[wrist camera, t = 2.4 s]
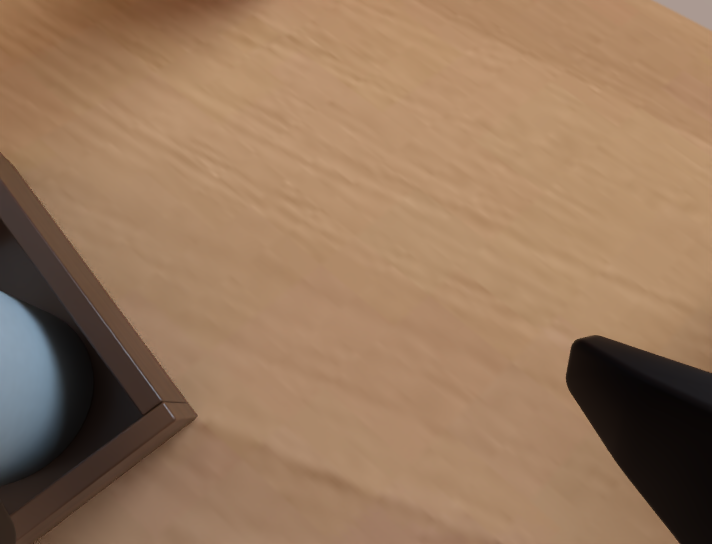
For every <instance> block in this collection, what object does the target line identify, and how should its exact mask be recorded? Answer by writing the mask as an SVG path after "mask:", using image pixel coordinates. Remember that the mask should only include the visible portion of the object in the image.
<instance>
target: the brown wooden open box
mask: <svg viewBox="0 0 712 544" xmlns="http://www.w3.org/2000/svg"><path fill="white" fill-rule="evenodd" d="M0 291H2V292H4V293H6V294H8V295H11V296H13V297H15V298H17V299H19V300H22V301H24V302H26V303H28V304H31V305H33V306H35V307H37V308H39V309H42V310H44V311H46V312H48V313H50V314H52V315H54V316H56V317H58V318H59V319H61V320H62V321H63V322H65V323H66V324H67V325H68V326H69V327H70V328H71V329H72V330H74V331H75V333H76V334H77V335H78V337H79V338H80V339H81V340H82V342H83V344H84V346H85V348H86V350H87V352H88V355H89V357H90V360H91V365H92V370H93V382H94V383H93V395H92V399H91V404H90V408H89V410H88V413H87V416H86V418H85V420H84V422H83V424H82V426H81V428H80V430H79V432H78V433H77V435H76V436H75V438H74V439H73V440H72V442H71V443H70V444H69V445H68V446H67V448H66V449H65V450H64V451H63V452H62V453H61V454H60V455H59V456H58V457H56V458H55V459H54V460H53V461H52V462H50V463H49V464H48V465H46V466H45V467H44V468H42V469H40V470H39V471H37V472H35V473H34V474H32V475H30V476H28V477H25V478H23V479H21V480H19V481H16V482H13V483H9V484H6V485H3V486H0V500H1V502H2V503H3V505H4V507H5V509H6V511H7V512H8V514H9V516H10V518H11V519H12V521H13V523H14V526H15V529H16V544H33V543H34V542H35V541H37V540H38V539H39V538H41V537H42V536H43V535H45V534H46V533H47V532H48V531H50V530H51V529H52V528H54V527H55V526H56V525H58V524H59V523H60V522H61V521H63V520H64V519H65V518H67V517H68V516H69V515H71V514H72V513H73V512H74V511H76V510H77V509H78V508H80V507H81V506H82V505H84V504H85V503H86V502H87V501H89V500H90V499H91V498H93V497H94V496H95V495H97V494H98V493H99V492H100V491H102V490H103V489H104V488H106V487H107V486H108V485H110V484H111V483H112V482H113V481H115V480H116V479H117V478H119V477H120V476H121V475H123V474H124V473H125V472H126V471H128V470H129V469H130V468H132V467H133V466H134V465H136V464H137V463H138V462H139V461H141V460H142V459H143V458H145V457H146V456H147V455H149V454H150V453H151V452H152V451H154V450H155V449H156V448H158V447H159V446H160V445H162V444H163V443H164V442H165V441H167V440H168V439H169V438H171V437H172V436H173V435H175V434H176V433H177V432H178V431H180V430H181V429H182V428H184V427H185V426H186V425H188V424H189V423H190V422H191V421H193V420H194V419H195V418H197V414H196V413H195V411H194V410H193V409H192V407H191V406H190V405H189V403H188V402H187V400H186V399H185V398H184V396H183V395H182V394H181V392H180V391H179V390H178V388H177V387H176V386H175V384H174V383H173V381H172V380H171V379H170V377H169V376H168V375H167V373H166V372H165V371H164V369H163V368H162V367H161V365H160V364H159V362H158V361H157V360H156V358H155V357H154V356H153V354H152V353H151V352H150V350H149V349H148V348H147V346H146V345H145V343H144V342H143V341H142V339H141V338H140V337H139V335H138V334H137V333H136V331H135V330H134V329H133V327H132V326H131V324H130V323H129V322H128V320H127V319H126V318H125V316H124V315H123V314H122V312H121V311H120V309H119V308H118V307H117V305H116V304H115V303H114V301H113V300H112V299H111V297H110V296H109V295H108V293H107V292H106V290H105V289H104V288H103V286H102V285H101V284H100V282H99V281H98V280H97V278H96V277H95V276H94V274H93V273H92V271H91V270H90V269H89V267H88V266H87V265H86V263H85V262H84V261H83V259H82V258H81V257H80V255H79V254H78V252H77V251H76V250H75V248H74V247H73V246H72V244H71V243H70V242H69V240H68V239H67V238H66V236H65V235H64V233H63V232H62V231H61V229H60V228H59V227H58V225H57V224H56V223H55V221H54V220H53V219H52V217H51V216H50V214H49V213H48V212H47V210H46V209H45V208H44V206H43V205H42V204H41V202H40V201H39V200H38V198H37V197H36V195H35V194H34V193H33V191H32V190H31V189H30V187H29V186H28V185H27V183H26V182H25V181H24V179H23V178H22V176H21V175H20V174H19V172H18V171H17V170H16V168H15V167H14V166H13V164H12V163H11V162H10V161H9V160H8V159H6V158H5V156H4V155H3V154H2V153H1V152H0Z"/></svg>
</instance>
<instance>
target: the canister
mask: <svg viewBox="0 0 712 544" xmlns="http://www.w3.org/2000/svg"><path fill="white" fill-rule="evenodd" d="M93 383H94V382H93V370H92V365H91V360H90V357H89V355H88V352H87V350H86V348H85V346H84V344H83V342H82V340H81V339H80V338H79V337H78V335H77V334H76V333H75V331H74V330H72V329H71V328H70V327H69V326H68V325H67V324H66V323H65V322H63V321H62V320H61V319H59V318H58V317H56V316H54V315H52V314H50V313H48V312H46V311H44V310H42V309H39V308H37V307H35V306H33V305H31V304H28V303H26V302H24V301H22V300H19V299H17V298H15V297H13V296H11V295H8V294H6V293H4V292H2V291H0V486H3V485H6V484H9V483H13V482H16V481H19V480H21V479H23V478H25V477H28V476H30V475H32V474H34V473H35V472H37V471H39V470H40V469H42V468H44V467H45V466H46V465H48V464H49V463H50V462H52V461H53V460H54V459H55V458H56V457H58V456H59V455H60V454H61V453H62V452H63V451H64V450H65V449H66V448H67V446H68V445H69V444H70V443H71V442H72V440H73V439H74V438H75V436H76V435H77V433H78V432H79V430H80V428H81V426H82V424H83V422H84V420H85V418H86V416H87V413H88V410H89V408H90V404H91V399H92V395H93Z"/></svg>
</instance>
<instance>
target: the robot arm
mask: <svg viewBox="0 0 712 544" xmlns="http://www.w3.org/2000/svg"><path fill="white" fill-rule="evenodd" d="M566 382H567V386H568V388H569V390H570V392H571V394H572V395H573V397H574V398H575V400H576V402H577V403H578V405H579V406H580V408H581V409H582V411H583V412H584V414H585V415H586V417H587V418H588V420H589V422H590V423H591V425H592V426H593V428H594V429H595V431H596V432H597V434H598V435H599V437H600V438H601V440H602V442H603V443H604V445H605V446H606V448H607V449H608V451H609V452H610V454H611V455H612V457H613V458H614V460H615V461H616V462H617V464H618V465H619V467H620V468H621V469H622V471H623V472H624V473H625V475H626V476H627V477H628V479H629V480H630V481H631V482H632V484H633V485H634V486H635V487H636V489H637V490H638V491H639V492H640V494H641V495H642V496H643V498H644V499H645V500H646V501H647V503H648V504H649V505H650V506H651V508H652V509H653V510H654V511H655V513H656V514H657V515H658V516H659V518H660V519H661V520H662V522H663V523H664V524H665V525H666V527H667V528H668V529H669V530H670V532H671V533H672V534H673V535H674V537H675V538H676V539H677V540H678V542H679V543H680V544H712V373H709V372H707V371H704V370H701V369H698V368H695V367H692V366H689V365H686V364H683V363H680V362H677V361H674V360H671V359H668V358H665V357H662V356H659V355H656V354H653V353H650V352H647V351H644V350H641V349H638V348H635V347H632V346H629V345H626V344H623V343H620V342H617V341H614V340H611V339H608V338H605V337H602V336H598V335H593V336H589V337H584V338H580V339H577V340H575V341H574V343H573V344H572V346H571V351H570V356H569V362H568V367H567V373H566ZM0 544H16V529H15V526H14V523H13V521H12V519H11V518H10V516H9V514H8V512H7V511H6V509H5V507H4V505H3V503H2V502H1V500H0Z"/></svg>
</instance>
